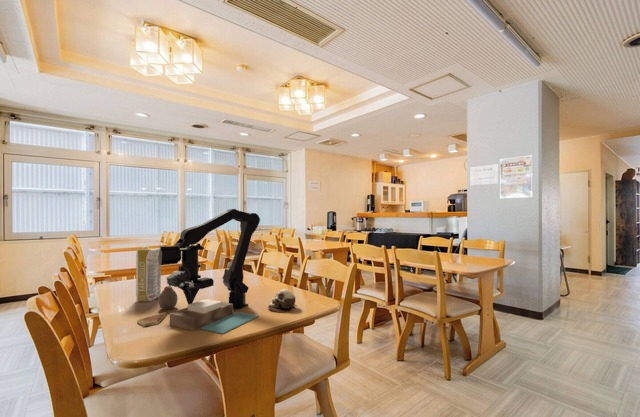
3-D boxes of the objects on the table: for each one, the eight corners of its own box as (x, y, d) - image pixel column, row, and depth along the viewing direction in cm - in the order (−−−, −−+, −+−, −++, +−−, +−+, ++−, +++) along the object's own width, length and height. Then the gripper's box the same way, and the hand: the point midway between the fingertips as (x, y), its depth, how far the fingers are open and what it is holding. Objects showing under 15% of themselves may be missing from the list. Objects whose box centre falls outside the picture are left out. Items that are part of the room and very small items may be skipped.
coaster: (205, 304, 114) (205, 298, 114) (221, 307, 110) (221, 301, 110) (187, 310, 107) (187, 304, 107) (204, 313, 103) (204, 307, 103)
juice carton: (146, 296, 140) (146, 244, 140) (162, 296, 140) (163, 244, 140) (133, 302, 131) (133, 247, 131) (150, 302, 130) (151, 247, 131)
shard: (167, 315, 114) (167, 310, 114) (177, 319, 110) (177, 315, 110) (136, 324, 106) (136, 318, 106) (145, 329, 101) (146, 323, 101)
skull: (260, 308, 117) (269, 285, 124) (271, 320, 124) (279, 297, 131) (287, 311, 113) (295, 286, 120) (297, 323, 120) (304, 299, 126)
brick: (210, 309, 119) (210, 299, 120) (233, 314, 114) (233, 303, 114) (169, 325, 103) (169, 313, 103) (194, 330, 98) (194, 318, 98)
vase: (167, 312, 117) (167, 289, 117) (154, 310, 120) (154, 288, 120) (181, 306, 124) (181, 285, 124) (168, 305, 126) (168, 284, 126)
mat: (237, 312, 116) (237, 311, 116) (258, 316, 111) (258, 315, 111) (200, 329, 100) (200, 327, 100) (222, 334, 95) (222, 333, 95)
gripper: (153, 264, 109) (153, 307, 109) (189, 267, 101) (189, 314, 100) (180, 259, 119) (180, 299, 119) (214, 262, 111) (214, 305, 110)
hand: (190, 304), depth 112 cm, fingers closed
